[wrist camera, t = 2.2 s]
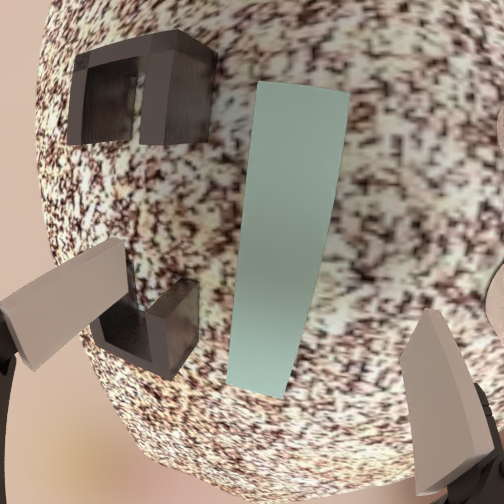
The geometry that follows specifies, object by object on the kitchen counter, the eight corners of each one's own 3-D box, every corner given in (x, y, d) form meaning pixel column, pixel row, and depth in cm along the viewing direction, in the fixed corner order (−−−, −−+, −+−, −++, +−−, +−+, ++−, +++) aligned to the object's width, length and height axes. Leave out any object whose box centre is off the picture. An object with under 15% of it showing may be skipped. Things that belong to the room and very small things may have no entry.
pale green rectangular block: (284, 102, 15) (257, 80, 9) (343, 111, 14) (350, 92, 8) (253, 327, 21) (226, 383, 16) (297, 338, 20) (281, 398, 15)
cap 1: (124, 64, 16) (75, 55, 11) (218, 53, 14) (178, 29, 10) (116, 139, 18) (66, 145, 14) (207, 142, 16) (163, 145, 12)
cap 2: (198, 341, 23) (171, 380, 18) (127, 315, 25) (95, 345, 20) (199, 282, 20) (164, 319, 16) (120, 259, 22) (80, 285, 18)
